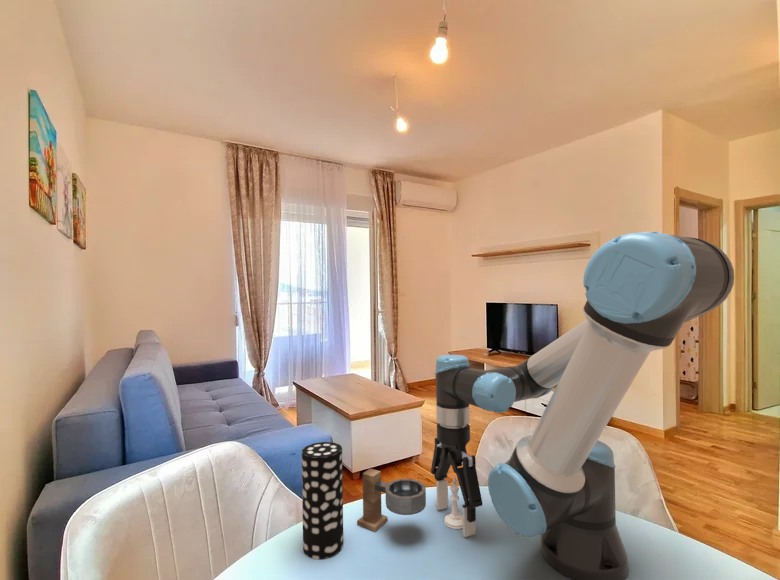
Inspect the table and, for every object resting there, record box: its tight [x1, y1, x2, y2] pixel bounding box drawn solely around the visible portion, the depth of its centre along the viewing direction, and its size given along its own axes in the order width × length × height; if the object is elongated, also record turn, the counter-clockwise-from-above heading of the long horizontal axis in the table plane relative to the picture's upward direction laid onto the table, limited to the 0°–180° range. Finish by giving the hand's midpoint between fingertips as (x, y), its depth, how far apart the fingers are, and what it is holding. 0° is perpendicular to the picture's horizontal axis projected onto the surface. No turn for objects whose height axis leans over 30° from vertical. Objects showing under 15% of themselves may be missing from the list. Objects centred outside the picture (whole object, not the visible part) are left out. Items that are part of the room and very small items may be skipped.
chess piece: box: [443, 477, 463, 530], centre depth 88 cm, size 5×5×10 cm
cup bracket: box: [375, 478, 427, 516], centre depth 85 cm, size 14×9×3 cm, turn 57°
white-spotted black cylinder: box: [301, 441, 344, 560], centre depth 81 cm, size 8×8×20 cm
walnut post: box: [356, 468, 388, 533], centre depth 89 cm, size 5×5×12 cm
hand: (455, 520), depth 88 cm, fingers open, 11 cm apart
